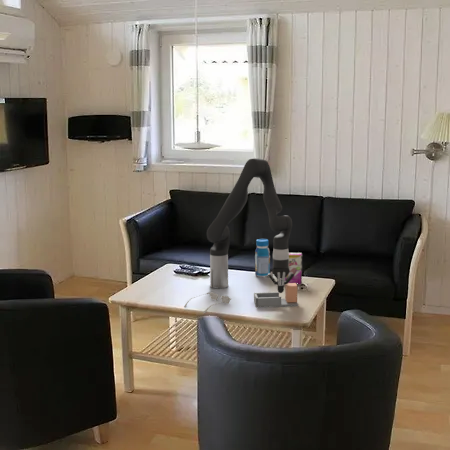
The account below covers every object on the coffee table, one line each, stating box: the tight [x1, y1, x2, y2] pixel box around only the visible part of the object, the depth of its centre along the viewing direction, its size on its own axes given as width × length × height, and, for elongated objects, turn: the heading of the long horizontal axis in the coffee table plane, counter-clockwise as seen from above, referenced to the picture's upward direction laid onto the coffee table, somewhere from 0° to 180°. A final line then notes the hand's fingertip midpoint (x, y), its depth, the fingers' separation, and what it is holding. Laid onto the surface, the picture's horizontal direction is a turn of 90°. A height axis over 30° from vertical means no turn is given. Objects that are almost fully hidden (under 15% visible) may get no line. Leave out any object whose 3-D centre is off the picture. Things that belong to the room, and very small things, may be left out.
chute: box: [253, 291, 299, 309], centre depth 321 cm, size 20×9×4 cm, turn 94°
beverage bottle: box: [254, 238, 271, 278], centre depth 369 cm, size 8×8×20 cm
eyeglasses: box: [183, 291, 232, 314], centre depth 320 cm, size 15×18×4 cm
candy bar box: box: [285, 252, 303, 285], centre depth 353 cm, size 11×5×16 cm, turn 84°
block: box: [284, 283, 298, 303], centre depth 321 cm, size 5×5×8 cm
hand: (280, 292), depth 320 cm, fingers closed
